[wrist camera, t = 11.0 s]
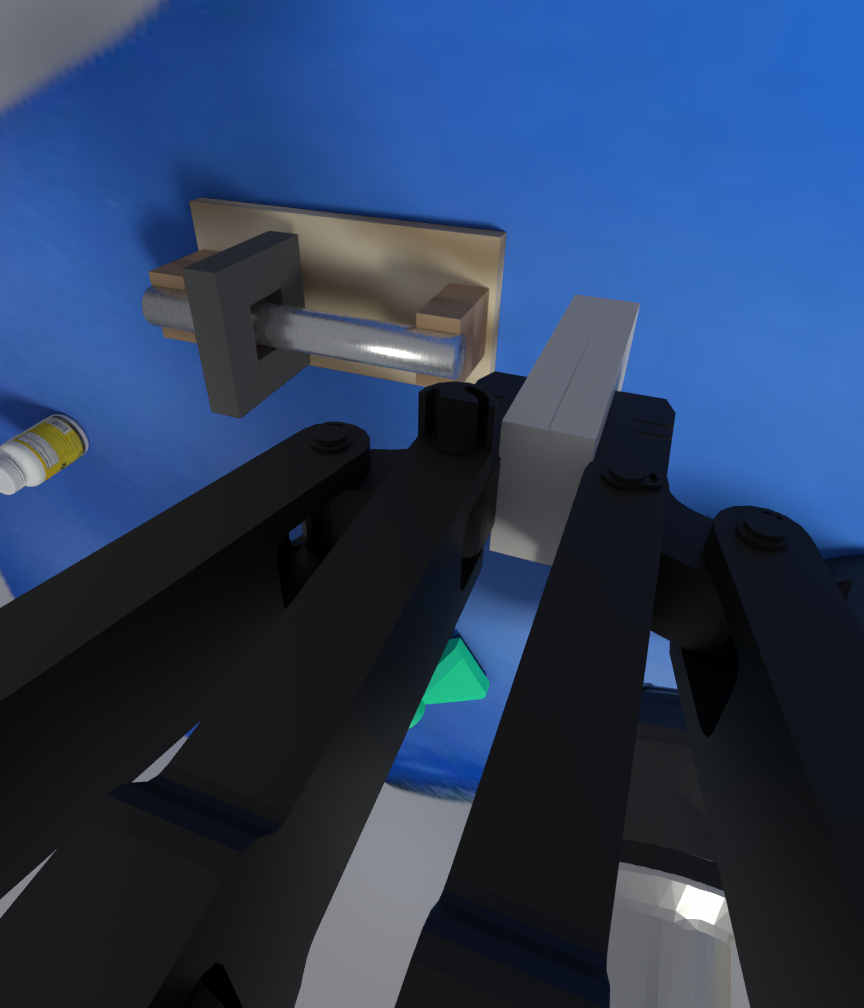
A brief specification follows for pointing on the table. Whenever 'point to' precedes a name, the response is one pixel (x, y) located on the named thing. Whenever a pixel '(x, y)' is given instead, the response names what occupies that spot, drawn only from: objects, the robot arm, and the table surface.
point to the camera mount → (454, 679)
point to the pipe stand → (371, 274)
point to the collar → (244, 319)
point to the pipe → (327, 334)
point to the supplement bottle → (40, 452)
